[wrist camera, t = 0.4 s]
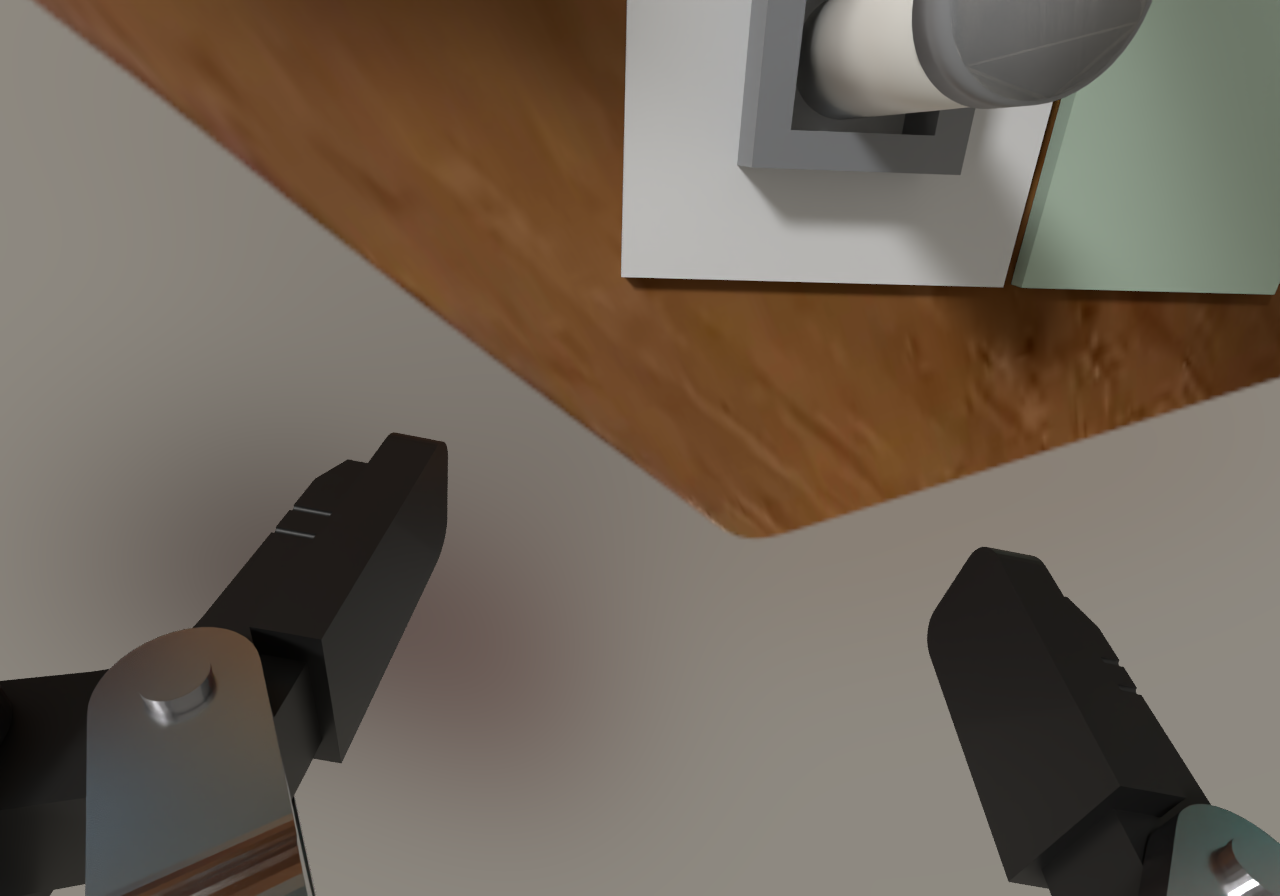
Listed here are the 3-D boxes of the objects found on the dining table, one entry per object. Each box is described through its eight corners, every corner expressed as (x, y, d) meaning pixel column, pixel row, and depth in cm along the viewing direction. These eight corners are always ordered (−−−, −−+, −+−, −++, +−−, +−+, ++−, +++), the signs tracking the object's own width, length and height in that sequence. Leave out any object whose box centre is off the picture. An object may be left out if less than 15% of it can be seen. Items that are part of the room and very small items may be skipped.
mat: (1097, -33, 29) (1112, -39, 28) (1390, -17, 30) (1414, -22, 29) (1010, 284, 35) (1021, 287, 34) (1257, 290, 36) (1274, 294, 35)
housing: (632, -248, 25) (636, -322, 21) (1122, -214, 27) (1215, -278, 22) (621, 273, 34) (622, 291, 30) (993, 283, 35) (1043, 302, 31)
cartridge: (799, -15, 28) (976, -163, 15) (916, -10, 28) (1198, -148, 15) (783, 119, 30) (925, 101, 17) (893, 124, 31) (1119, 109, 17)
